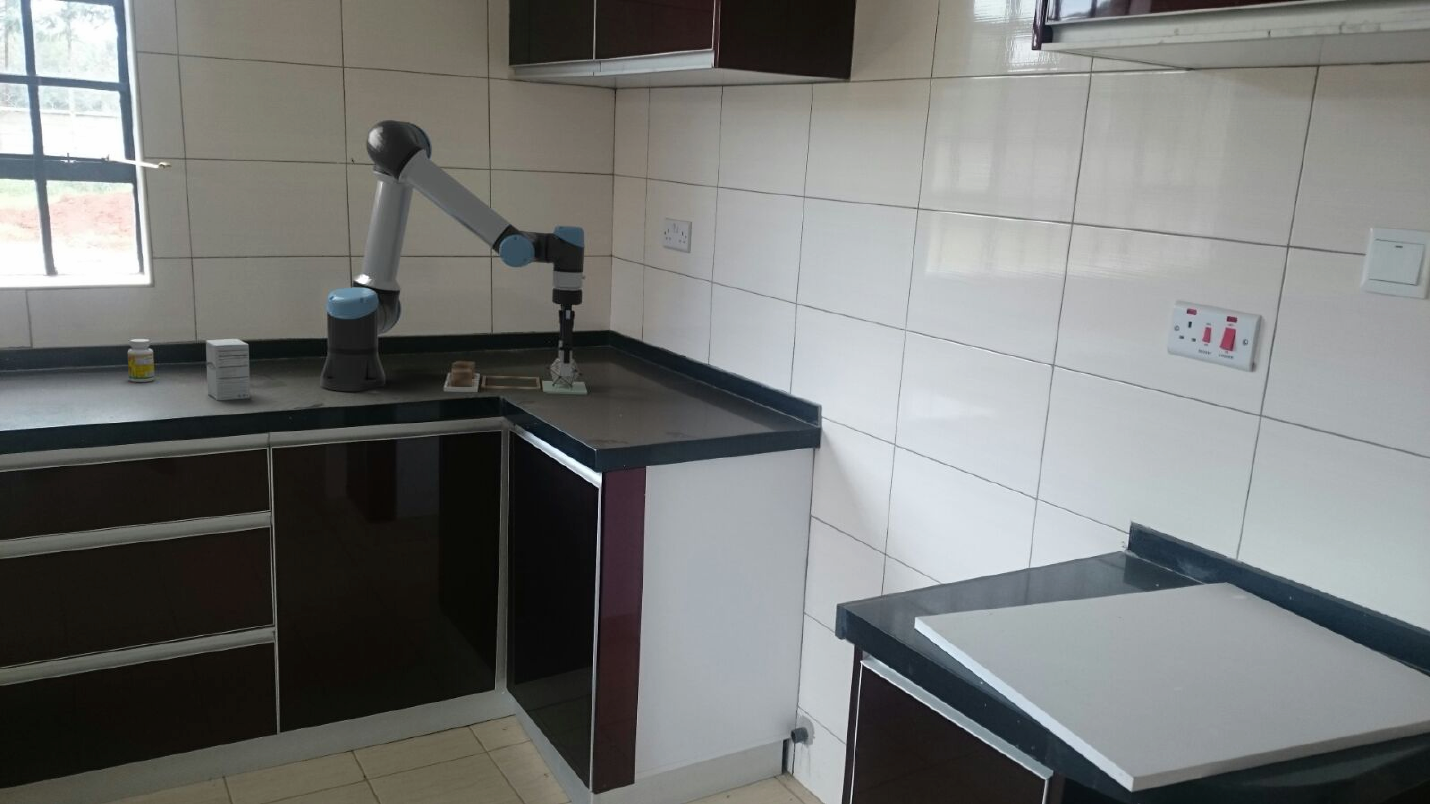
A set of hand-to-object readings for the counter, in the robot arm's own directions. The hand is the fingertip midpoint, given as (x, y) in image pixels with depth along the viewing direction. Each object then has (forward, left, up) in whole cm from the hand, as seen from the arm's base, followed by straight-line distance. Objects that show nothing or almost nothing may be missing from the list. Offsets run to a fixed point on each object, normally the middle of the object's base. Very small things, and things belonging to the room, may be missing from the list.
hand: (564, 370), depth 273 cm
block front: (-25, -6, -4) cm, 26 cm away
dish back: (-25, +4, -5) cm, 26 cm away
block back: (-25, +4, -4) cm, 26 cm away
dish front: (-25, -6, -5) cm, 27 cm away
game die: (0, 0, -4) cm, 4 cm away
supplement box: (-76, -18, -5) cm, 79 cm away
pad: (0, 0, -5) cm, 5 cm away
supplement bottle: (-99, -3, -5) cm, 100 cm away
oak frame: (-13, +2, -5) cm, 14 cm away
